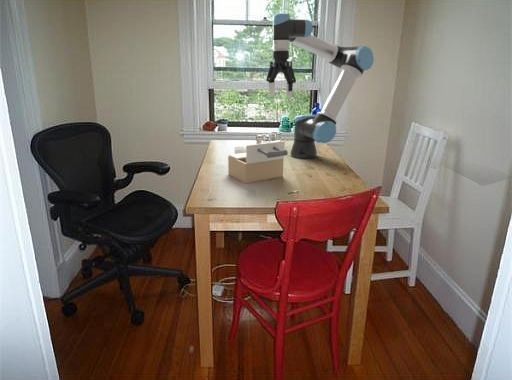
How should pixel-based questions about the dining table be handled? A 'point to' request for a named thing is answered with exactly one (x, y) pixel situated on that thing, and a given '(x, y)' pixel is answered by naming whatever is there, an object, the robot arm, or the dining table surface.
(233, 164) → the cabinet
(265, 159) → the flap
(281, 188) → the dining table surface
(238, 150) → the white cup
